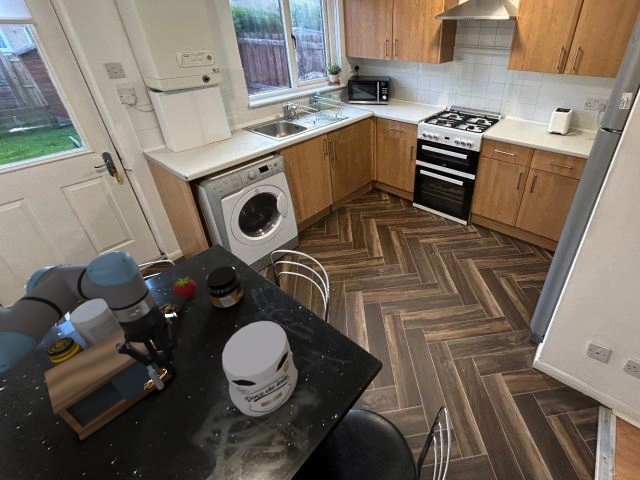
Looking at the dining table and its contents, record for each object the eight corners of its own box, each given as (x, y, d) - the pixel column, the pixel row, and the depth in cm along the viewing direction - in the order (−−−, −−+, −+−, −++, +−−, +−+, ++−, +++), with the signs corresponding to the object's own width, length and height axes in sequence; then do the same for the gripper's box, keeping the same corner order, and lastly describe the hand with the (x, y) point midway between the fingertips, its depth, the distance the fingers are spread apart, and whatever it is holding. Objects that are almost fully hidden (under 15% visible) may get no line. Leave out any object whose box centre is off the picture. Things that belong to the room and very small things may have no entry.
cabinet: (69, 401, 82) (44, 372, 76) (155, 348, 96) (139, 320, 89) (81, 441, 75) (53, 413, 68) (172, 377, 88) (156, 348, 82)
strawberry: (184, 290, 116) (176, 270, 111) (203, 292, 115) (196, 272, 111) (174, 303, 111) (164, 283, 106) (194, 304, 110) (185, 284, 105)
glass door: (125, 400, 82) (109, 377, 76) (165, 373, 88) (152, 350, 83) (132, 415, 79) (115, 392, 73) (172, 386, 85) (159, 363, 80)
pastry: (138, 336, 99) (134, 329, 97) (165, 306, 110) (161, 299, 108) (159, 338, 99) (155, 331, 97) (184, 307, 109) (180, 300, 107)
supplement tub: (136, 325, 103) (117, 294, 95) (121, 352, 95) (100, 319, 87) (102, 331, 101) (81, 299, 94) (85, 358, 93) (60, 326, 86)
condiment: (87, 380, 87) (65, 354, 81) (51, 387, 86) (27, 361, 80) (101, 356, 93) (82, 330, 88) (68, 362, 92) (47, 336, 86)
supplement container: (231, 314, 107) (222, 289, 101) (206, 307, 109) (196, 282, 103) (250, 292, 116) (244, 267, 110) (227, 285, 118) (219, 262, 112)
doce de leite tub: (273, 433, 76) (259, 393, 67) (219, 406, 81) (199, 366, 73) (311, 368, 90) (304, 328, 82) (263, 349, 96) (251, 309, 87)
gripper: (106, 339, 65) (147, 399, 77) (173, 301, 74) (201, 360, 86) (97, 319, 70) (137, 379, 81) (162, 286, 78) (190, 344, 90)
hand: (170, 370), depth 83 cm, fingers closed
